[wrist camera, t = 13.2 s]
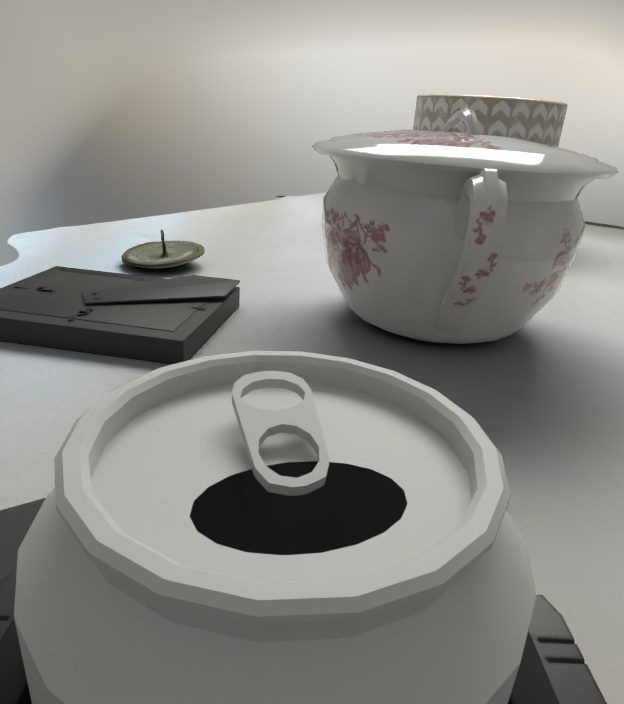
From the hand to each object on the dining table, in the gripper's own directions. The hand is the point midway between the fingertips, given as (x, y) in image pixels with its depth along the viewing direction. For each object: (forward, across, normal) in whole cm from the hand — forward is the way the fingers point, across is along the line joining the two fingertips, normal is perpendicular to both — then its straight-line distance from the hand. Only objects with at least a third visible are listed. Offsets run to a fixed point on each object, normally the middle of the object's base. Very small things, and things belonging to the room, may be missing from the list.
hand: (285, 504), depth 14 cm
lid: (+58, -18, -9) cm, 61 cm away
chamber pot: (+42, +14, -10) cm, 45 cm away
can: (-5, 0, -7) cm, 8 cm away
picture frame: (+37, -18, -9) cm, 42 cm away
